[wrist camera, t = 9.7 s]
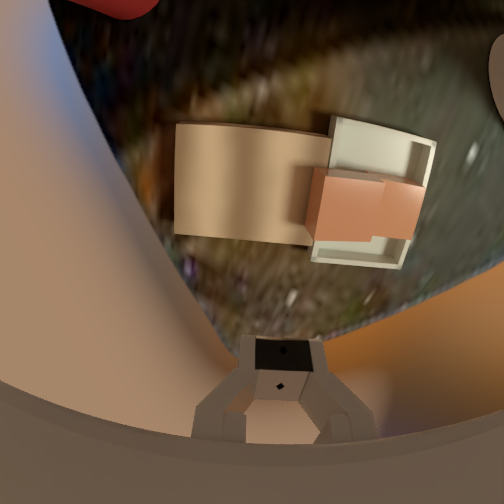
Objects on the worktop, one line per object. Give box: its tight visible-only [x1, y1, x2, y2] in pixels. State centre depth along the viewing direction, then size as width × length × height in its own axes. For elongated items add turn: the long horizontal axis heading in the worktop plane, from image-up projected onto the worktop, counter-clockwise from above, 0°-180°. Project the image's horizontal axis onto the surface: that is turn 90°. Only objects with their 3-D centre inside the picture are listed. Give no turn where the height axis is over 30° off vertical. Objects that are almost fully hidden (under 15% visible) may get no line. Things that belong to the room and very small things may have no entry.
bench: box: [174, 121, 332, 246], centre depth 29 cm, size 14×11×3 cm
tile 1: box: [304, 167, 385, 242], centre depth 27 cm, size 6×6×3 cm
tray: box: [307, 115, 437, 269], centre depth 30 cm, size 11×15×2 cm
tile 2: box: [365, 170, 426, 240], centre depth 30 cm, size 6×6×3 cm
